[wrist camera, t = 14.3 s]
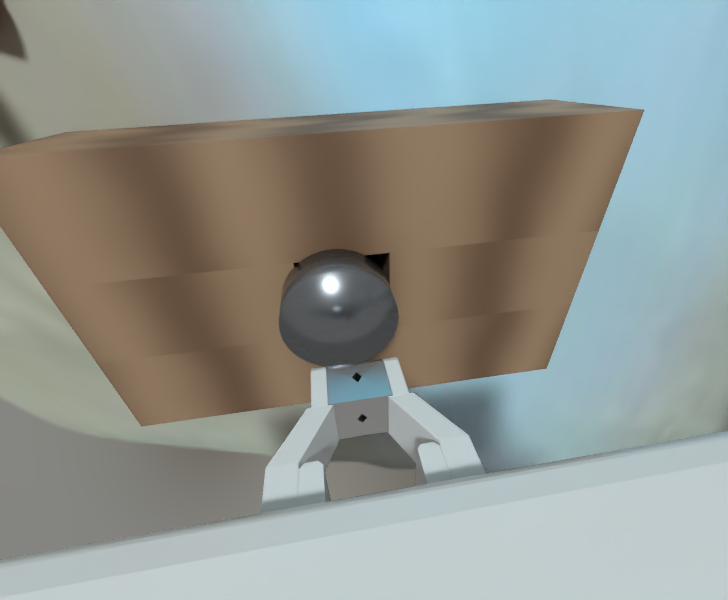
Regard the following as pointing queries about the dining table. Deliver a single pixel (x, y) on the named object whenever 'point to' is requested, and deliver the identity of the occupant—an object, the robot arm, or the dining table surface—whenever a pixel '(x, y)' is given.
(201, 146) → the hitch block
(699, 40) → the dining table surface
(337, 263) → the steel pin
